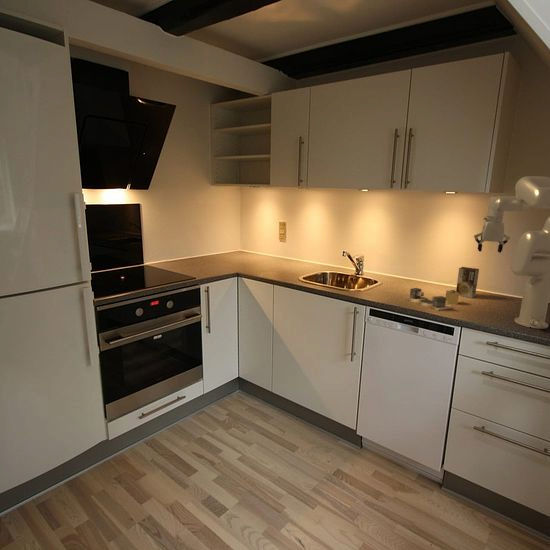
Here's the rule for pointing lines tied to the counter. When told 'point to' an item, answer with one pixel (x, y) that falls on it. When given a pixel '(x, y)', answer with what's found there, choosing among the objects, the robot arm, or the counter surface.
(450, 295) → the coupling block
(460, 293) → the coffee box
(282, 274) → the counter surface
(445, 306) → the shaft bench
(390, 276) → the counter surface
